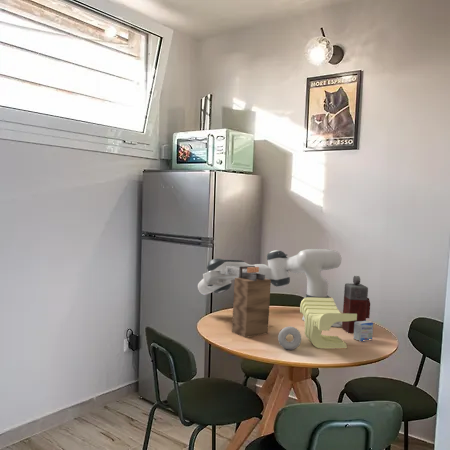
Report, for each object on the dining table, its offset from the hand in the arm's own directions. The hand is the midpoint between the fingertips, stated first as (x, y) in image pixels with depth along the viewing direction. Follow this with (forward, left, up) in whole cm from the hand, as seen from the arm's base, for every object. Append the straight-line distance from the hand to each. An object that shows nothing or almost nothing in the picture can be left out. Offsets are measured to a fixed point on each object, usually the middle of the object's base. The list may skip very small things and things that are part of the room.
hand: (232, 269), depth 225 cm
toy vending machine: (-59, -25, -28) cm, 70 cm away
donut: (-37, +22, -28) cm, 52 cm away
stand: (-14, +8, -28) cm, 32 cm away
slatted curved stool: (-49, +5, -28) cm, 57 cm away
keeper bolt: (-6, +3, -2) cm, 7 cm away
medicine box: (-64, -11, -28) cm, 71 cm away
